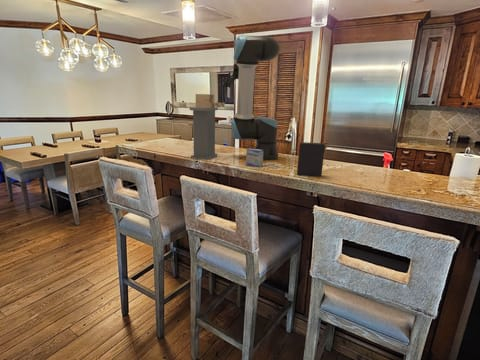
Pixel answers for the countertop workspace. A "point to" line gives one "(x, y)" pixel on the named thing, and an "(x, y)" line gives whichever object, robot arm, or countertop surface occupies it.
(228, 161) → the countertop surface
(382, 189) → the countertop surface
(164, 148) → the countertop surface
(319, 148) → the dark upright panel
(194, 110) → the grey tall block
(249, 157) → the medicine box
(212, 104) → the mallet
